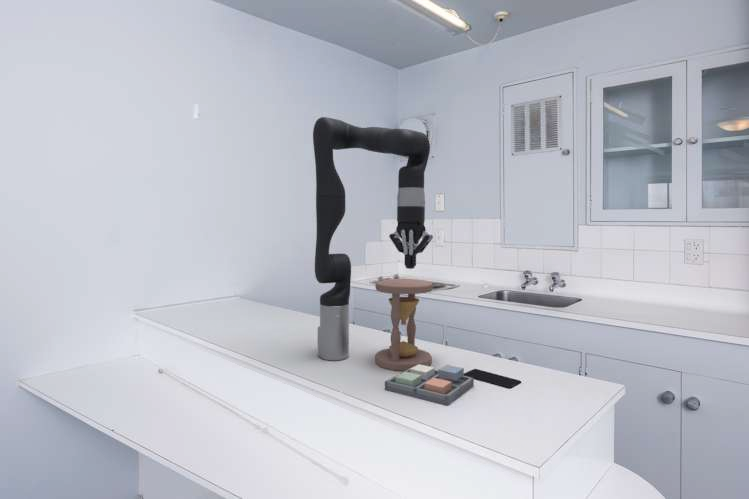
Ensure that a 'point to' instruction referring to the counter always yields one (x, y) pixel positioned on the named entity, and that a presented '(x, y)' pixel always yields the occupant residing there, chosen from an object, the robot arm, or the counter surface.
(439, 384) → the terracotta key
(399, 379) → the sage key
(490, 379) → the smartphone
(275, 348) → the counter surface
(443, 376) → the slate key
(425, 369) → the cream key
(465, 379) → the keypad
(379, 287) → the hourglass
